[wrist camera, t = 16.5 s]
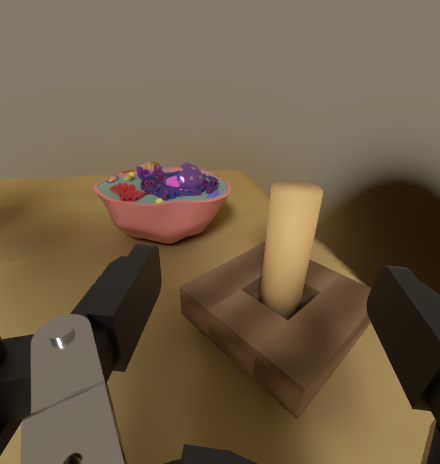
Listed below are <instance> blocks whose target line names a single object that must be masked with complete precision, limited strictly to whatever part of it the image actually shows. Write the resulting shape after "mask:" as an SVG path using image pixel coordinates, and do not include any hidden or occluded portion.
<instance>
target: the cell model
mask: <svg viewBox="0 0 440 464" xmlns="http://www.w3.org/2000/svg"><path fill="white" fill-rule="evenodd" d="M93 189H94V190H95V192H96V193H97V194H98V196H99V197H100V199H101V200H102V202H103V203H104V205H105V207H106V209H107V211H108V213H109V215H110V217H111V219H112V221H113V223H114V224H115V226H116V227H117V228H118V229H119V230H120V231H122V232H123V233H125V234H127V235H129V236H132V237H136V238H141V239H148V240H152V241H156V242H161V243H166V244H171V243H175V242H177V241H179V240H181V239H183V238H186V237H190V236H193V235H197V234H199V233H201V232H202V231H204V229H205V228H206V227H207V226H208V225H209V224H210V223H211V222H212V220H213V218H214V217H215V215H216V214H217V213H218V211H219V210H220V208H221V207H222V205H223V203H224V202H225V200H226V199H227V197H228V196H229V194H230V193H231V187H230V183H229V182H228V181H227V180H225V179H223V178H221V177H219V176H217V175H216V174H214V173H211V172H208V171H201V170H199V168H198V167H196V166H195V165H193V164H191V163H187V162H184V163H183V164H182V166H181V168H161V166H160V167H158V168H157V165H154V169H144V170H143V167H139V166H137V171H136V172H128V173H122V174H118V175H113V176H111V177H110V178H107V179H105V180H103V181H101V182H99V183H98V184H96V185H95V186H94V188H93Z"/></svg>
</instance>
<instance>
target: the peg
mask: <svg viewBox="0 0 440 464" xmlns="http://www.w3.org/2000/svg"><path fill="white" fill-rule="evenodd" d="M322 195H323V190H322V189H321V188H320V187H318V186H316V185H313V184H310V183H305V182H298V181H282V182H277V183H275V184H273V185H272V187H271V196H270V205H269V214H268V223H267V232H266V242H265V251H264V260H263V269H262V278H261V288H260V297H259V302H261V303H262V304H264V305H265V306H267V307H268V308H270V309H271V310H273V311H274V312H276V313H277V314H279V315H280V316H282V317H283V318H285V319H286V320H289V319H290V318H292V317H293V316H294V315H295V314H296V313H297V312H298V311H299V309H300V304H301V299H302V294H303V289H304V284H305V279H306V274H307V269H308V264H309V259H310V255H311V250H312V245H313V240H314V234H315V230H316V225H317V220H318V215H319V210H320V205H321V200H322Z"/></svg>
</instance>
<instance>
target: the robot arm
mask: <svg viewBox="0 0 440 464" xmlns="http://www.w3.org/2000/svg"><path fill="white" fill-rule="evenodd" d="M160 289H161V269H160V259H159V250H158V247H157V246H153V245H141V244H136V245H135V246H134V248H133V249H132V251H131V252H130V253H129V255H128V256H127V257H125V256H121V257H119V258H118V259H116V260H115V261H113V262H111V263H110V264H109V265H108V266H107V268H106V269H105V270H104V271H103V273H102V275H100V277H99V278H98V279H97V280H96V283H94V284H93V285H92V287H91V288H90V289H89V291H88V292H87V293H86V294H85V296H84V297H83V298H82V300H81V301H80V302H79V303H78V305H77V306H76V307H75V308H74V310H73V311H72V312H71V314H68V315H63V316H60V317H57V318H54V319H52V320H50V321H49V322H47V323H45V324H44V325H43V326H42V327H40V328H39V329H38V330H37V332H36V333H35V334H33V335H27V336H20V337H14V338H7V339H1V337H0V456H1V454H2V452H3V451H4V449H5V448H6V446H7V444H8V443H9V441H10V439H11V438H12V436H13V435H14V433H15V431H16V430H17V428H18V427H19V425H20V423H21V422H22V420H23V423H22V430H21V464H128V462H127V459H126V455H125V451H124V447H123V444H122V440H121V436H120V432H119V428H118V424H117V420H116V416H115V412H114V408H113V404H112V400H111V396H110V392H109V389H108V385H107V381H108V379H109V377H110V375H111V373H112V371H121V372H125V370H126V368H127V366H128V364H129V361H130V359H131V357H132V355H133V352H134V350H135V348H136V345H137V343H138V341H139V339H140V336H141V334H142V332H143V330H144V327H145V325H146V323H147V321H148V318H149V316H150V314H151V312H152V309H153V307H154V305H155V303H156V300H157V298H158V296H159V293H160ZM366 307H367V314H368V317H369V319H370V321H371V323H372V325H373V327H374V329H375V331H376V334H377V336H378V338H379V340H380V342H381V344H382V346H383V348H384V350H385V352H386V354H387V357H388V359H389V361H390V363H391V365H392V367H393V369H394V371H395V373H396V375H397V377H398V379H399V382H400V384H401V386H402V388H403V390H404V392H405V394H406V396H407V398H408V400H409V402H410V405H411V407H412V409H418V410H426V411H431V412H432V414H433V416H434V417H435V419H434V421H433V422H432V423H431V426H430V429H429V433H428V437H427V441H426V445H425V449H424V453H423V457H422V461H421V464H440V295H439V294H438V293H436V292H435V291H433V290H432V289H431V288H429V287H428V286H426V285H425V284H423V283H420V281H419V280H418V279H417V278H416V277H415V275H414V274H413V273H412V272H411V271H410V269H408V268H405V267H394V266H381V267H380V269H379V270H378V272H377V275H376V278H375V280H374V283H373V285H372V288H371V291H370V293H369V296H368V299H367V305H366ZM165 464H256V463H254V462H252V461H250V460H248V459H246V458H244V457H242V456H239V455H237V454H235V453H233V452H231V451H227V450H220V449H213V448H206V447H199V446H192V445H185V444H184V447H183V452H182V458H181V459H180V460H174V461H171V462H168V463H165Z"/></svg>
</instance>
